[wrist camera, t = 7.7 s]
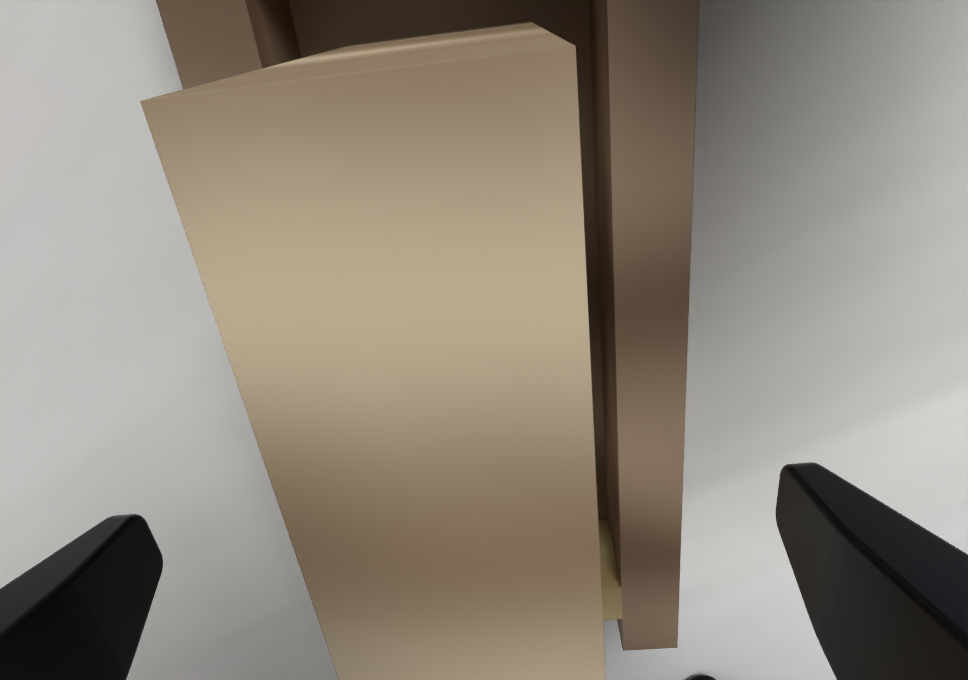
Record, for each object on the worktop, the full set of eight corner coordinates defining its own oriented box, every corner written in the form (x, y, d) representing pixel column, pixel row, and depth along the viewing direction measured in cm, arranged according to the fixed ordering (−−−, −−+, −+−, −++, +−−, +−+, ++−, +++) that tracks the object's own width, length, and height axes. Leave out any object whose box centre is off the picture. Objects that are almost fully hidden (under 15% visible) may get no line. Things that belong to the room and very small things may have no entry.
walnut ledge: (666, 551, 21) (695, 646, 18) (367, 571, 22) (344, 665, 19) (682, -239, 12) (746, -326, 9) (165, -160, 13) (56, -213, 10)
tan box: (566, 482, 19) (616, 843, 11) (439, 492, 19) (394, 851, 11) (532, 20, 13) (581, 45, 5) (353, 43, 13) (135, 101, 5)
